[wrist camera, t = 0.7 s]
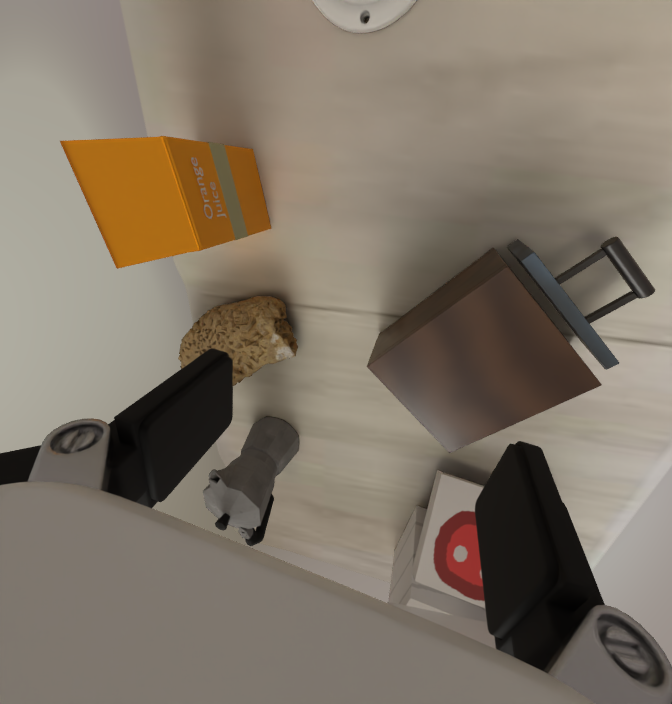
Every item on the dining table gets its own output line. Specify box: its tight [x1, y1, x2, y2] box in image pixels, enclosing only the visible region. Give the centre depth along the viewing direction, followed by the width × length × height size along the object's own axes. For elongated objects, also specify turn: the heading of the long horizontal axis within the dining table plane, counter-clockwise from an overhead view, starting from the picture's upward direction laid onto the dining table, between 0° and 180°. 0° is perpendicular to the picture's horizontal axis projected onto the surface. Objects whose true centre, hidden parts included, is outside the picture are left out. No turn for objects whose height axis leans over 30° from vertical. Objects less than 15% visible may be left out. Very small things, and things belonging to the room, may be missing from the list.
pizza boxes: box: [388, 470, 496, 649], centre depth 49 cm, size 19×30×18 cm, turn 170°
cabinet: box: [367, 248, 602, 453], centre depth 37 cm, size 17×15×9 cm
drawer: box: [507, 237, 655, 370], centre depth 35 cm, size 21×14×7 cm, turn 135°
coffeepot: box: [203, 417, 299, 546], centre depth 51 cm, size 15×9×18 cm, turn 18°
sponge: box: [178, 296, 298, 386], centre depth 48 cm, size 13×8×20 cm
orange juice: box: [60, 136, 271, 268], centre depth 32 cm, size 8×9×20 cm
